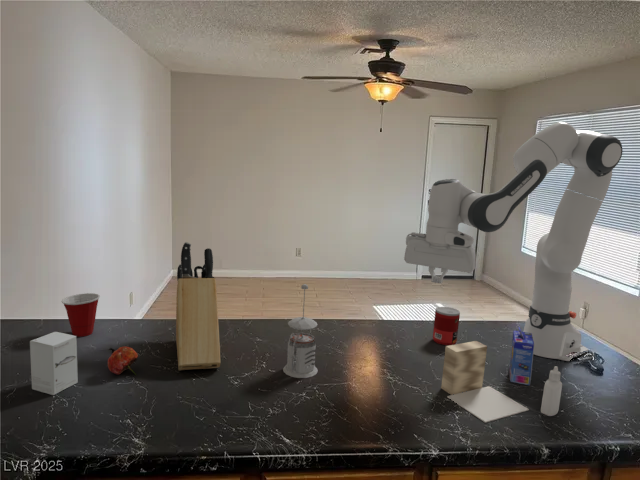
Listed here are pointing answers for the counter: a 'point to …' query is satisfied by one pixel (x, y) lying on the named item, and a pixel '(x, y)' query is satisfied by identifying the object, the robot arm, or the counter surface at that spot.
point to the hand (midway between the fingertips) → (436, 282)
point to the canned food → (446, 325)
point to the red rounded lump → (121, 359)
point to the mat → (487, 404)
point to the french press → (301, 348)
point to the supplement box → (53, 362)
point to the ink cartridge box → (521, 357)
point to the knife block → (197, 314)
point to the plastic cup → (81, 312)
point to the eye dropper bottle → (552, 393)
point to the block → (463, 367)
